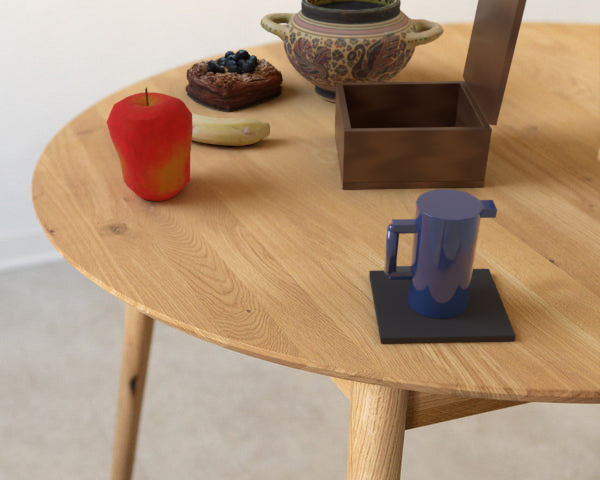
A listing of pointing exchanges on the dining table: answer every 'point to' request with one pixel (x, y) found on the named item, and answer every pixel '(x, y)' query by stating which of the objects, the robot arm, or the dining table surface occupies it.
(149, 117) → the apple
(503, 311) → the trivet
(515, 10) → the chest lid
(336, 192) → the dining table surface
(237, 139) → the fruit
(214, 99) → the pastry
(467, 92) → the chest
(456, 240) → the jug
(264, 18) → the ceramic bowl
